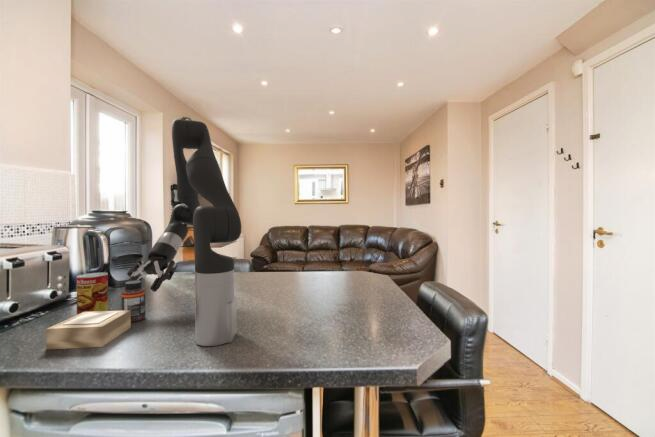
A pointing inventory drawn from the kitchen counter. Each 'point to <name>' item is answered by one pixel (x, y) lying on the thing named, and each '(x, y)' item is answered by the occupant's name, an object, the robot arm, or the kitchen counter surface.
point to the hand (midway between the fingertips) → (140, 289)
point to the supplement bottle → (134, 300)
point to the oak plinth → (88, 329)
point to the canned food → (92, 292)
